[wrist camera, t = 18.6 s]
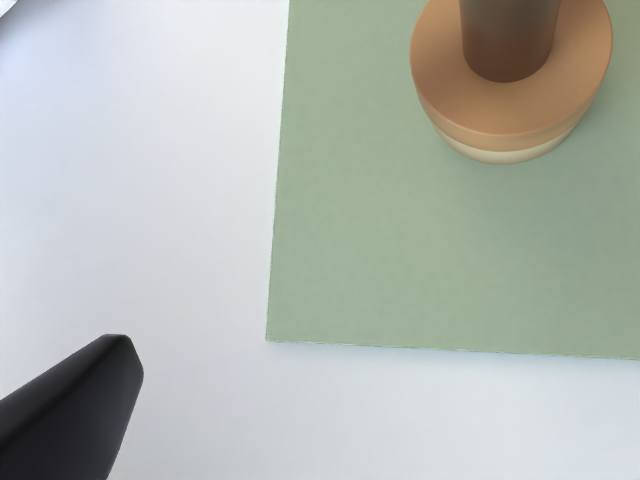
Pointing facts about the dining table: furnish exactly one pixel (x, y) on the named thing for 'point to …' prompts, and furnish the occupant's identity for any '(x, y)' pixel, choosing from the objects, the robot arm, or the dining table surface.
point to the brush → (509, 72)
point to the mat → (446, 205)
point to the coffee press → (6, 5)
